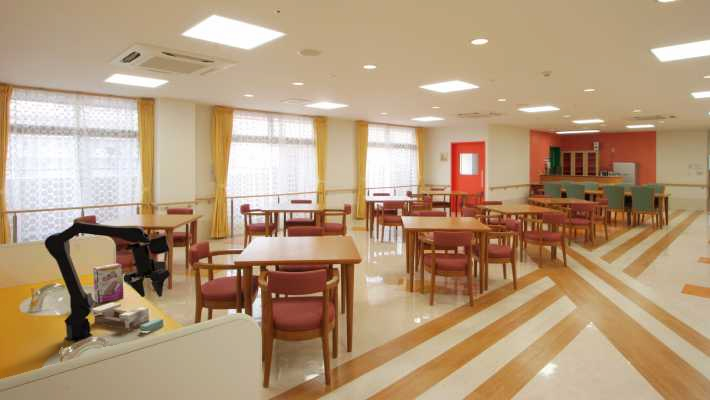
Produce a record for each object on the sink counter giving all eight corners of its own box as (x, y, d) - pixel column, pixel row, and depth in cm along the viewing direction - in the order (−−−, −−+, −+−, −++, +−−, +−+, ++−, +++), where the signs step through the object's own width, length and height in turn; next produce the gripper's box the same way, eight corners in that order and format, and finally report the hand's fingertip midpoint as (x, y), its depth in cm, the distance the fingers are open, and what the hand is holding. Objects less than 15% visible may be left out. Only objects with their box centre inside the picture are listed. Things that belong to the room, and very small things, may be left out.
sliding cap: (100, 321, 166) (100, 310, 166) (91, 319, 169) (90, 309, 168) (121, 314, 175) (120, 303, 174) (112, 312, 177) (111, 302, 176)
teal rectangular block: (146, 334, 157) (145, 326, 157) (140, 333, 158) (139, 325, 158) (163, 326, 164) (163, 319, 164) (157, 325, 166) (157, 318, 165)
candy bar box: (98, 304, 192) (96, 269, 190) (94, 302, 195) (92, 267, 193) (124, 298, 200) (122, 264, 199) (120, 296, 203) (118, 262, 202)
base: (129, 330, 160) (128, 315, 160) (94, 323, 168) (93, 308, 168) (149, 322, 168) (148, 308, 168) (115, 315, 176) (114, 301, 176)
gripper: (176, 250, 164) (185, 288, 166) (142, 252, 171) (151, 288, 174) (153, 259, 154) (163, 299, 156) (118, 261, 161) (128, 300, 163)
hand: (151, 296), depth 163 cm, fingers open, 9 cm apart
